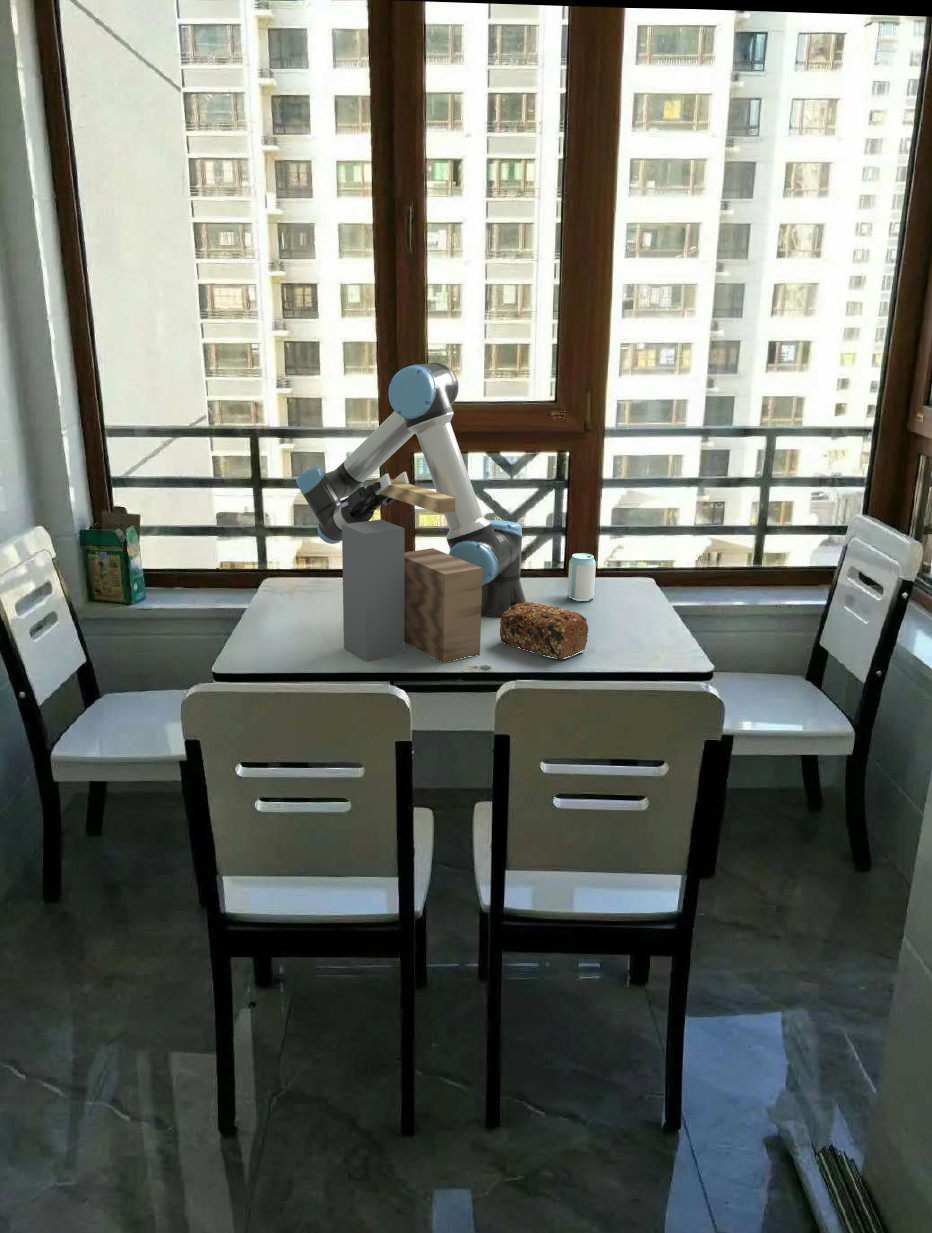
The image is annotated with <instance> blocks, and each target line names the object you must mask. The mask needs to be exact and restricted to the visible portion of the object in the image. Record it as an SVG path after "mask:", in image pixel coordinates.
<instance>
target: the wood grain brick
mask: <svg viewBox="0 0 932 1233" xmlns="http://www.w3.org/2000/svg"><path fill="white" fill-rule="evenodd" d="M482 570H483V568H481V567H479V566H476V565H474V564H471V563H469V562H466V561H464V560H461V559H459V558H456V557H454V556H451V555H449V553H446V552H444V551H442V550H439V549H436V548H433V547H431V548H424V549H417V550H412V551H405V560H404V644H407V645H409V646H411V647H412V648H414V647H415V649H416V650H418V651H419V652H421V653H424V654H425V655H427V656H429V657H431V656H432V657H431V658H433V657H434V658H435V659H434V658H433V659H434V660H436V659H437V661H438V660H439V661H438V662H440V661H441V662H440V663H442V662H443V663H442V664H446V663H445V662H448V663H450V662H449V661H452V662H454V661H453V660H456V659H460V658H464V657H468V656H474V657H477V656H476V655H478V656H481V633H482V632H481V629H482V615H481V603H482ZM456 661H457V660H456Z"/></svg>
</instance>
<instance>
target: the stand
mask: <svg viewBox="0 0 932 1233" xmlns="http://www.w3.org/2000/svg"><path fill="white" fill-rule="evenodd" d="M405 531H406V529H405V528H404V527H402V526H399V525H397V524H394V523H391V522H389V521H387V520H384V519H375V520H369V521H365V522H357V523H349V524H342V541H341V545H342V546H341V552H342V560H341V562H342V607H343V608H342V609H343V611H342V613H343V616H342V617H343V619H342V622H343V649H345V650H346V651H348V652H350V653H351V654H353V655H354V656H356V657H357V658H359V659H361V660H362V661H364V662H369V661H373V660H379V659H385V658H388V657H393V656H398V655H404V654H405V642H404V560H405V552H406V551H405V550H406V549H405V548H406V547H405V544H406V543H405V540H406V539H405Z"/></svg>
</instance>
